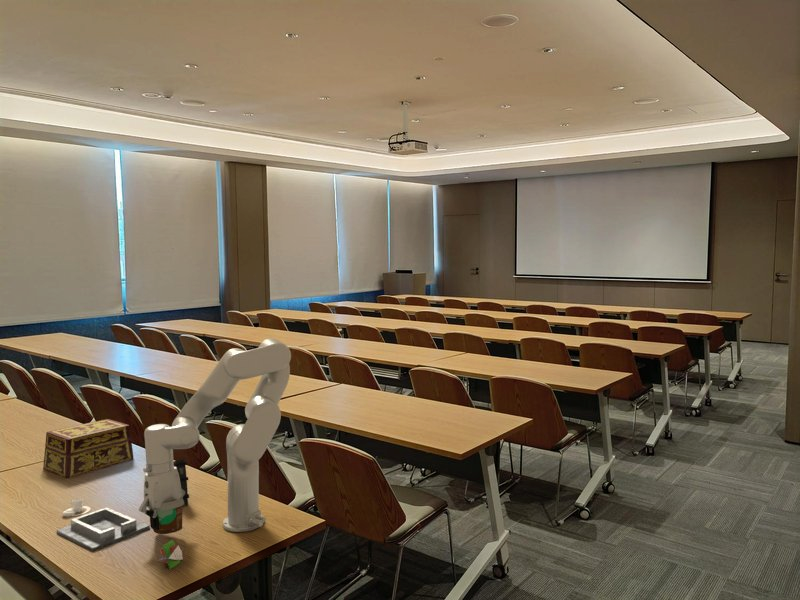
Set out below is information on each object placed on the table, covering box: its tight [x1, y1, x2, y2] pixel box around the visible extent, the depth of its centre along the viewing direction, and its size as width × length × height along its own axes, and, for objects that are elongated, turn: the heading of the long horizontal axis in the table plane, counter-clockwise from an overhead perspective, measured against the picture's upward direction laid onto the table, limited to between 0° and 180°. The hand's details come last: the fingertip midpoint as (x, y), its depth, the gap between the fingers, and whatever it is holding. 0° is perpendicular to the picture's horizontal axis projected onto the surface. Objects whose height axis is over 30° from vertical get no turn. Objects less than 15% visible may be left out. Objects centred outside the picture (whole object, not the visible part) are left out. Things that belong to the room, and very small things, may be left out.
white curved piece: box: [62, 498, 91, 517], centre depth 197 cm, size 9×8×4 cm
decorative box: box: [42, 418, 134, 479], centre depth 243 cm, size 28×19×15 cm
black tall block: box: [174, 458, 190, 507], centre depth 207 cm, size 4×13×15 cm, turn 35°
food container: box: [147, 498, 184, 535], centre depth 179 cm, size 12×6×10 cm, turn 67°
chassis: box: [56, 507, 151, 552], centre depth 183 cm, size 20×18×4 cm
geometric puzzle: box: [156, 539, 186, 571], centre depth 163 cm, size 7×7×8 cm
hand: (164, 524), depth 180 cm, fingers closed on food container, 5 cm apart
